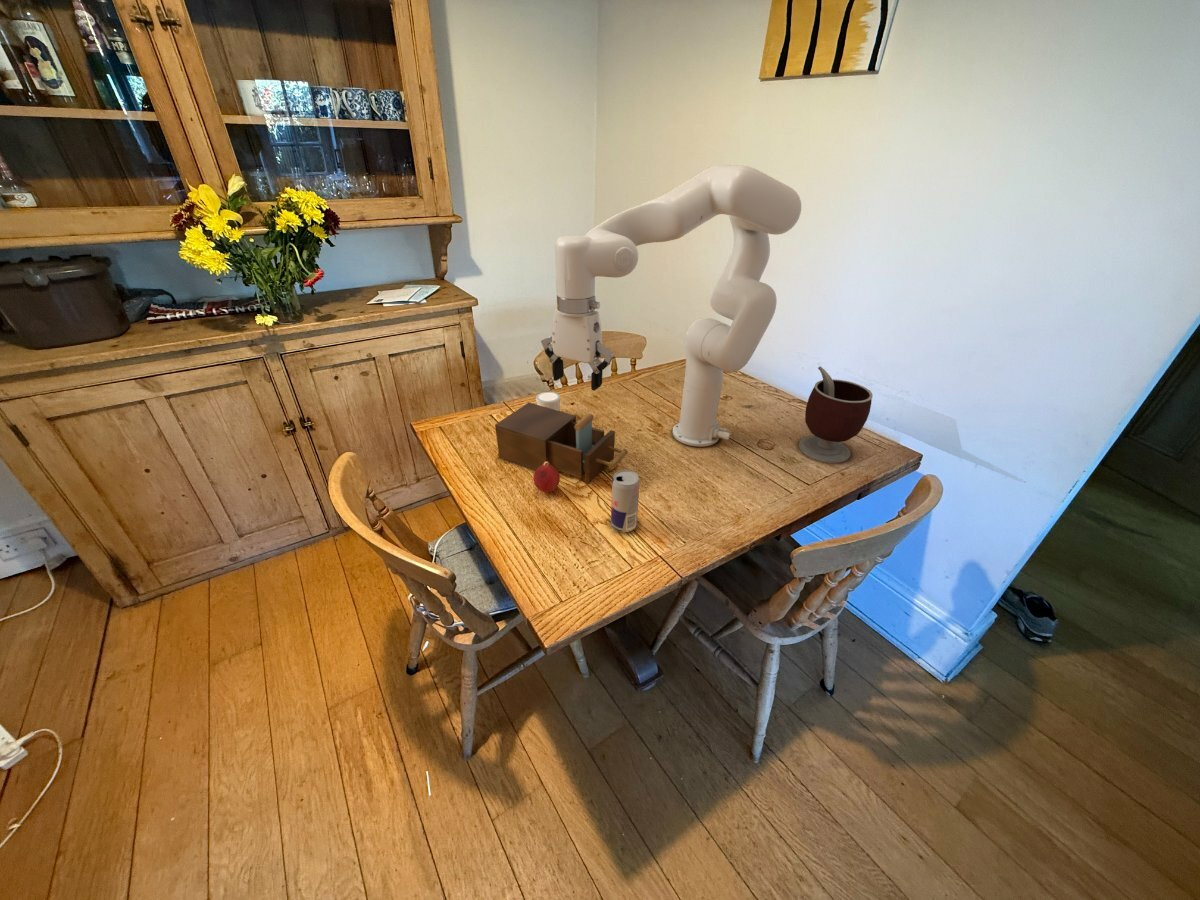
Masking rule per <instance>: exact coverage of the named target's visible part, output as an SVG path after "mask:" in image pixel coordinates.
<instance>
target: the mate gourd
mask: <svg viewBox="0 0 1200 900" xmlns="http://www.w3.org/2000/svg"><path fill="white" fill-rule="evenodd" d="M817 369H818V370H819V371H820V373H821V377H822V380H819V381H817V382H815V384H814V386H813V388H812V389H811V391H810V394H809V396H808V399H807V403H806V406H805V413H804V417H805V418H804V421H805V425H806V427H807V428H808V430H809V432H810V433H811V434H812V435H807V436H805V437H802V438H801V439H800V440H799V443H798V448H799V450H800V451H801V453H802V454H803V455H805V456H807V457H809V458H810V459H812V460H815V461H818V462H822V463H827V464H840V463H844V462H846V461H848V460H849V458H850V456H851V451H850V449H849V448H848V446H847V445H846V444H844V443H842V442H847V441H849V440H851V439H852V438H854V437H856V436H857V435H859V434H860V432H861V431H862V429H864V426H865V424H866V422H867V420H868V418H869V415H870V412H871V407H872V402H873V401H872V400H873V393H872V391H871V390H870V389H868V388H867V387H865V386H863V385H861V384H859V383H855V382H853V381H848V380H843V379H836V378H835V379H833V378H832V376H831V374H829V373H828V372H827V371H826V370H825V368H823V367H822V366H820V365H819V366H818V367H817Z"/></svg>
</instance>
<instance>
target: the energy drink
mask: <svg viewBox="0 0 1200 900" xmlns="http://www.w3.org/2000/svg"><path fill="white" fill-rule="evenodd" d="M640 482H641V481H640V477H639V474H638V473H637V472H635V471H633V470H629V469H622V470H618V471H616V472H615V473H614V474H613V477H612V480H611V505H610V508H611V509H610V526H611V527H612V528H613V529H614V530H615V531H617V532H619V533H630V532H632V531H634V530H635V529H636V528H637V525H638V515H639V513H638V512H639V511H638V510H639V498H640V485H641V484H640Z"/></svg>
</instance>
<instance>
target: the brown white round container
mask: <svg viewBox="0 0 1200 900" xmlns="http://www.w3.org/2000/svg"><path fill="white" fill-rule="evenodd" d="M535 401H536V405H540V406H543V407H547V408H551V409H554V410H558V411H561V409H560V408H561V407H560V406H561V395H560V393H558V392H556V391H542V392H540V393H537V395H536V396H535Z"/></svg>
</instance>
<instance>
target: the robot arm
mask: <svg viewBox="0 0 1200 900" xmlns="http://www.w3.org/2000/svg"><path fill="white" fill-rule="evenodd" d="M801 213H802V201H801V198H800V195H799V194H798V192H797V191H796V189H794V188H792V187H791V186H790V185H788V184H785V183H783V182H781V181H780V180H778V179H776V178H774V177H772V176H771V175H768V174H766V173H764V172H763V171H761V170H759V169H757V168H755V167H752V166H750V165H749V166H748V165H743V164H742V165H739V164H733V165H732V164H716V165H713V166H711V167H708V168H706V169H704V170H703V171H700V172H699V173H698V174H696V175H695V176H692V177H690V178H689V179H687V180H686V181H684V182H683V183H681V184H680V185H678V186H676V187H675V188H672V189H671V190H670V191H667V192H666V193H665V194H662V195H661V196H659V197H656V198H653V199H650V200H648V201H645V202H643V203H640V204H638V205H635V206H632V207H630V208H628V209H625V210H623V211H620V212H618V213H616V214H614V215H613V216H611V217H609V218H607V219H605V220H604V221H602V222H600V223H599V224H597V225H595V226H594V227H592V228H591V229H590V230H589V231H587V233H586V234H585V235H581V234H567V235H562V236H559V237H558V238H557V239H556V240H555V244H554V258H555V263H554V264H555V285H556V286H555V288H556V308H555V310H554V313H553V318H552V319H553V320H552V330H551V331H552V332H551V333H552V334H551V335H550V336H548V337H545V338H543V339H541V340H540V343H541V345H542V347H543V349H544V353H545V355H546V356H547V357H548V359H549V362H550V363H551V367H552V369H551V370H552V381H555V382H557V381H559V380H561V379H562V378H564V375H565V374H564V372H565V371H564V359H566V360H571V361H576V362H579V363H584V364H588V365H589V367H590V368H591V369H592V372H591V373H590V376H591V377H590V388H591V391H593V392H595V391H596V390H598V389H600V387H601V386H602V385H603V371H604V370H605V369H606V368H607V367H609V366H610V365H611V362H612V361H613V359H614V357H615V353H614V352H613V351H612V350H611V349H610V348H608V347H607V346H605V344H603V343H604V342H603V331H602V330H603V329H602V323H601V318H600V313H599V311H598V310H599V309H600V307H601V302H600V301H597V300H596V277H603V278H604V277H605V278H613V279H614V278H616V279H617V278H623V277H626V276H628V275H630V274H631V273H633V271H634V270H635V269H636V267H637V265H638V263H639V250H638V246H642V245H646V244H653V243H665V242H666V243H667V242H670V241H674V240H678V239H681V238H683V237H684V236H685V235H687V234H689V233H691V232H692V231H693V230H695V229H697V228H698V227H700V226H701V225H703V224H704V223H707V222H708V221H709V220H711V219H714V218H715V217H717V216H718V215H725V216H728V218H729V221H730V225H731V228H732V232H733V244H732V248H731V251H730V254H729V256H728V259H727V260H726V263H725V266H724V267H723V268H722V269H723V270H722V272H721V274H720V275H719V277H718V280H717V282H716V283H715V285H714V288H713V290H712V293H711V296H710V302H709V303H710V307H711V310H713V311H714V312H715V313H716V314H718V315H720V316H722V317H724V318H726V319H729V320H731V321H732V323H731V324H730V325H729V324H726V323H724V322H722V321H720V320H718V319H714V318H711V317H702V318H699V319H695V320H694V321H693V322H691V324H690V325H689V327H688V328H687V331H686V332H685V336H684V337H685V338H684V351H685V370H684V378H683V379H684V380H683V386H682V387H683V390H682V397H681V398H682V399H681V403H680V404H681V405H680V412H679V413H680V415H679V422H678V423H676V424H675V425H674V426H673V427H672V437H674V439H675V440H677V441H678V442H679V443H681V444H684V445H686V446H691V447H695V448H696V447H699V448H703V447H709V446H712V445H714V444H716V443H717V442H718V441H719V440H720V439H721V440H726V441H730V439H731V432H729V428H726V427H721V426H720V425H719V423H720V420H718V419H717V417H718V411H719V406H720V400H721V392H722V387H723V382H724V372H726V373H737V372H738V371H740V370H742V369H743V368H744V367H745V366H746V365H747V364H748V363H749V361H750V360H751V359H752V356H753V355H754V353H755V351H756V350H757V348H758V346H759V344H760V342H761V341H762V338H763V337H764V336H765V333H766V331H767V330H768V328H769V326H770V324H771V322H772V320H773V318H774V315H775V312H776V309H777V294H776V292H775V290H774V288H773V287H772V286H770V285H769V284H767V283H765V282H763V281H760V280H761V278H762V276H763V274H764V271H765V270H766V268H767V265H768V263H769V259H770V255H771V244H770V238H769V235H773V236H774V235H775V236H777V235H778V236H779V235H783V234H786V233H788V232H789V231H790V230H791V229H793V228H794V227H795V226H796V225H797V223H798V221H799V219H800V216H801ZM551 343H552V344H551ZM602 356H603V361H602V359H601V357H602Z"/></svg>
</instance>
